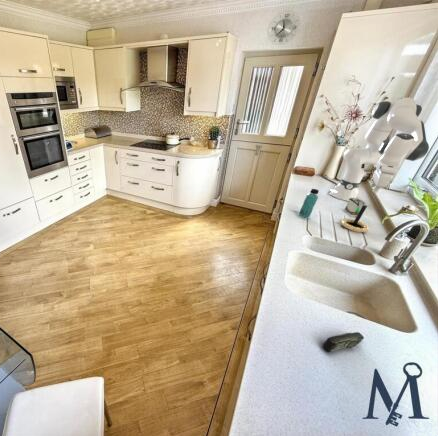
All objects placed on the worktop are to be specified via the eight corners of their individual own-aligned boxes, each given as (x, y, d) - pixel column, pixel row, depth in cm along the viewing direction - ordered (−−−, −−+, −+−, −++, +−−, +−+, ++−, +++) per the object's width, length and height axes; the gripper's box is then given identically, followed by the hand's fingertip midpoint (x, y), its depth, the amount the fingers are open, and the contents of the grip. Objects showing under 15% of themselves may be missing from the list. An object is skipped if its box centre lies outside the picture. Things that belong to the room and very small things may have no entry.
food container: (362, 219, 156) (370, 206, 151) (352, 217, 157) (360, 204, 152) (352, 210, 167) (359, 198, 162) (343, 209, 168) (349, 197, 162)
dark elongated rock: (334, 345, 73) (371, 335, 76) (325, 337, 75) (361, 327, 78) (327, 354, 75) (363, 344, 78) (319, 345, 78) (354, 336, 81)
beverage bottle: (308, 216, 157) (320, 188, 147) (309, 220, 151) (322, 192, 141) (297, 213, 159) (308, 186, 149) (298, 218, 154) (310, 190, 144)
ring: (340, 218, 153) (341, 215, 151) (366, 225, 146) (368, 222, 145) (340, 227, 143) (342, 224, 142) (369, 235, 136) (371, 232, 135)
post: (342, 221, 153) (354, 200, 145) (362, 226, 148) (374, 205, 140) (343, 227, 145) (355, 206, 138) (363, 233, 141) (377, 211, 133)
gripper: (377, 160, 134) (364, 182, 141) (382, 169, 119) (368, 193, 126) (392, 162, 131) (378, 185, 138) (398, 172, 116) (383, 197, 123)
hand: (373, 189), depth 132 cm, fingers open, 8 cm apart
